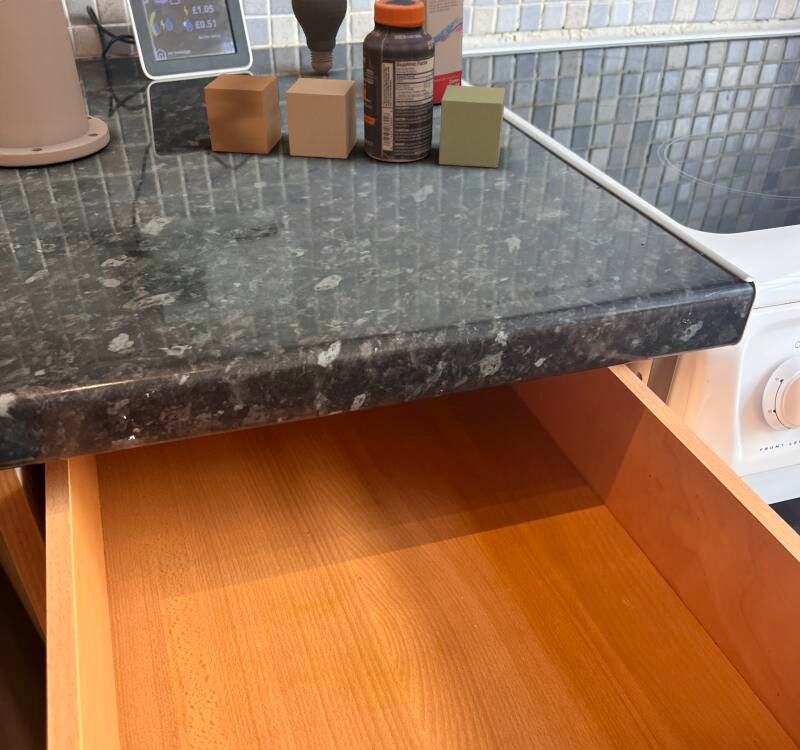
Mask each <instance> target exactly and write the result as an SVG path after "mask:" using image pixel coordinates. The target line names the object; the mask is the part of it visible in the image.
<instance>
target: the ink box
mask: <svg viewBox="0 0 800 750" xmlns="http://www.w3.org/2000/svg"><path fill="white" fill-rule="evenodd" d="M418 1H421V2H423V3H424V17H425V20H424V23H423V26H422V28H423V30H424V31H425V32H427V33H429V34H430V35H431V36H432V38H433V40H434V43H435V62H434V95H433V97H434V98H433V105H435V104H439V103H441V101H442V98H443V96H444V93H445V91H446V88H447V86H448V85H453V86H462V79H463V78H462V77H463V36H464V35H463V34H464V30H463V29H464V0H418Z"/></svg>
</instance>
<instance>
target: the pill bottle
mask: <svg viewBox="0 0 800 750" xmlns="http://www.w3.org/2000/svg"><path fill="white" fill-rule="evenodd" d="M424 20H425V17H424V3H423V2H421V1H418V0H377V1H376V2H374V4H373V21H374V23H373V24H374V26H373V29H372V30H371V31H370V32H369V33H367V34H366V36H365V37H364V39H363V42H362V86H363V127H364V128H363V138H364V139H363V145H364V146H363V148H364V152H365V153H366V154H367V155H368V156H369V157H371V158H373V159H375V160H379V161H383V162H392V163H404V162H413V161H419V160H422V159H424V158H426V157H427V156H429V155H430V154H431V152H432V148H433V147H432V146H433V127H434V126H433V124H434V122H433V121H434V104H433V98H434V97H433V95H434V62H435V43H434V40H433V38H432V36H431V35H430V34H429V33H427V32H425V31H424V30H423V28H422V26H423V23H424Z"/></svg>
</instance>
